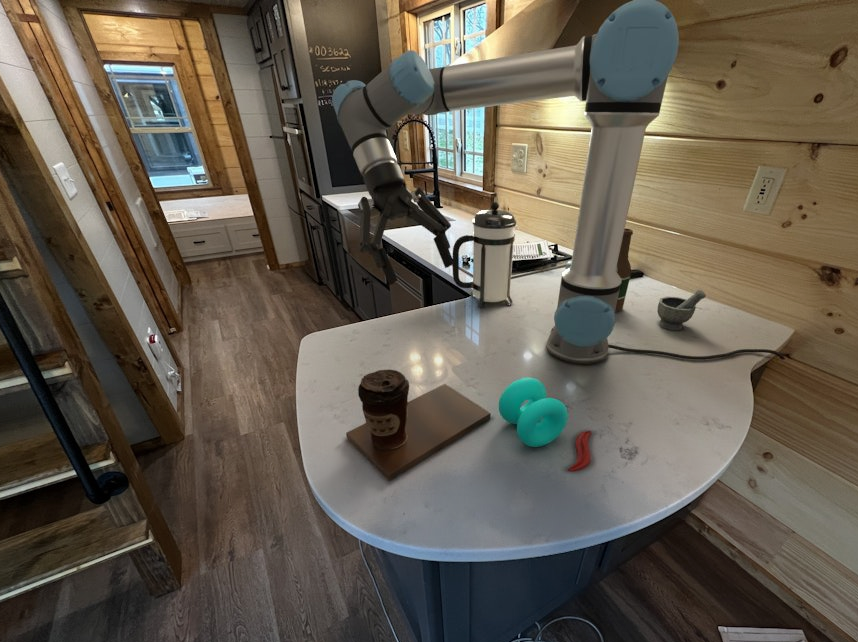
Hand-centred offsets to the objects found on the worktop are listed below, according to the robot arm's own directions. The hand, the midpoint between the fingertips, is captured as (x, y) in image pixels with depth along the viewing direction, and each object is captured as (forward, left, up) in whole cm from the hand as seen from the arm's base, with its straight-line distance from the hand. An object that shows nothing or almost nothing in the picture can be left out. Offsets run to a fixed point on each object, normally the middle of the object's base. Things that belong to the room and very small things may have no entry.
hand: (422, 274), depth 81 cm
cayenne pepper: (-37, +14, -24) cm, 46 cm away
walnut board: (-7, +18, -24) cm, 31 cm away
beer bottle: (-39, -55, -24) cm, 71 cm away
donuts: (-27, +12, -24) cm, 38 cm away
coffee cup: (-3, +25, -23) cm, 33 cm away
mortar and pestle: (-57, -48, -24) cm, 78 cm away
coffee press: (-1, -47, -24) cm, 52 cm away
